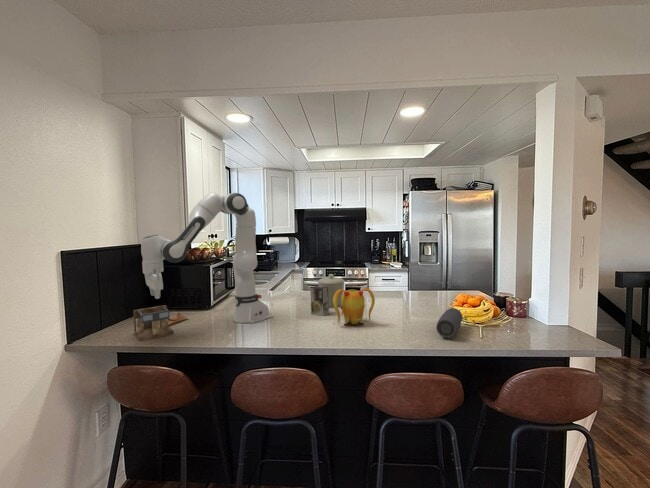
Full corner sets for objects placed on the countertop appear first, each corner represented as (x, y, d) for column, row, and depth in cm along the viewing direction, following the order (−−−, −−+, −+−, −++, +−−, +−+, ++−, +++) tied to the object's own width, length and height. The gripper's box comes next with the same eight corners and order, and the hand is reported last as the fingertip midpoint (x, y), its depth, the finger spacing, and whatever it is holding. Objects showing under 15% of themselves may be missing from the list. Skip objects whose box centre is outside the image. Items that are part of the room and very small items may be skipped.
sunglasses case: (164, 328, 165) (159, 317, 166) (156, 334, 167) (151, 322, 168) (190, 319, 182) (185, 308, 183) (182, 324, 184) (178, 314, 185)
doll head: (369, 318, 176) (369, 284, 175) (376, 327, 161) (376, 289, 160) (331, 320, 174) (330, 285, 173) (334, 328, 159) (333, 291, 158)
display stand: (166, 327, 167) (165, 305, 167) (173, 333, 157) (172, 310, 156) (134, 333, 158) (133, 310, 157) (139, 341, 147) (138, 316, 146)
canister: (315, 308, 200) (314, 276, 198) (320, 301, 217) (320, 271, 216) (343, 309, 197) (343, 276, 195) (346, 302, 214) (346, 272, 213)
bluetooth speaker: (444, 324, 163) (444, 305, 162) (463, 327, 158) (463, 308, 158) (434, 338, 143) (434, 317, 143) (456, 342, 139) (456, 319, 138)
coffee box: (329, 313, 188) (328, 286, 187) (323, 316, 183) (322, 288, 182) (316, 311, 193) (316, 285, 192) (310, 314, 188) (310, 287, 187)
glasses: (164, 314, 164) (164, 306, 163) (169, 318, 156) (169, 310, 156) (138, 318, 156) (137, 311, 156) (142, 323, 148) (141, 315, 148)
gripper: (165, 269, 145) (167, 299, 146) (155, 266, 161) (157, 292, 162) (150, 271, 141) (152, 301, 142) (141, 267, 157) (143, 294, 158)
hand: (155, 296), depth 152 cm, fingers open, 8 cm apart
